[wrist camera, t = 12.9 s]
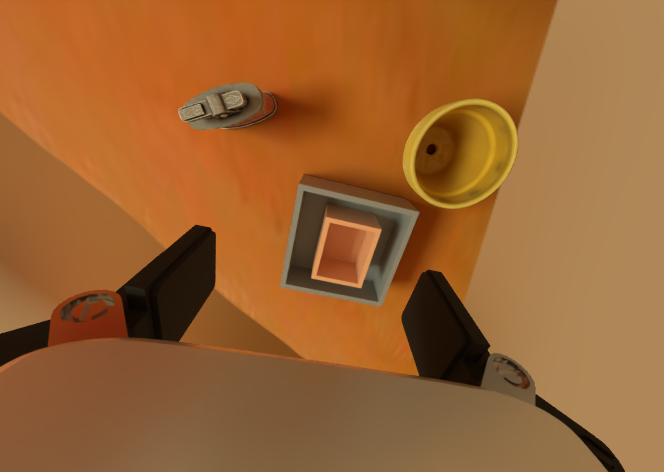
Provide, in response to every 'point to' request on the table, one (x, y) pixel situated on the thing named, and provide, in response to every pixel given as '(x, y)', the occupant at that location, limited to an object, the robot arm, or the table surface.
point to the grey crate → (305, 230)
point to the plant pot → (461, 153)
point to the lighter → (228, 107)
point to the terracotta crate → (345, 245)
